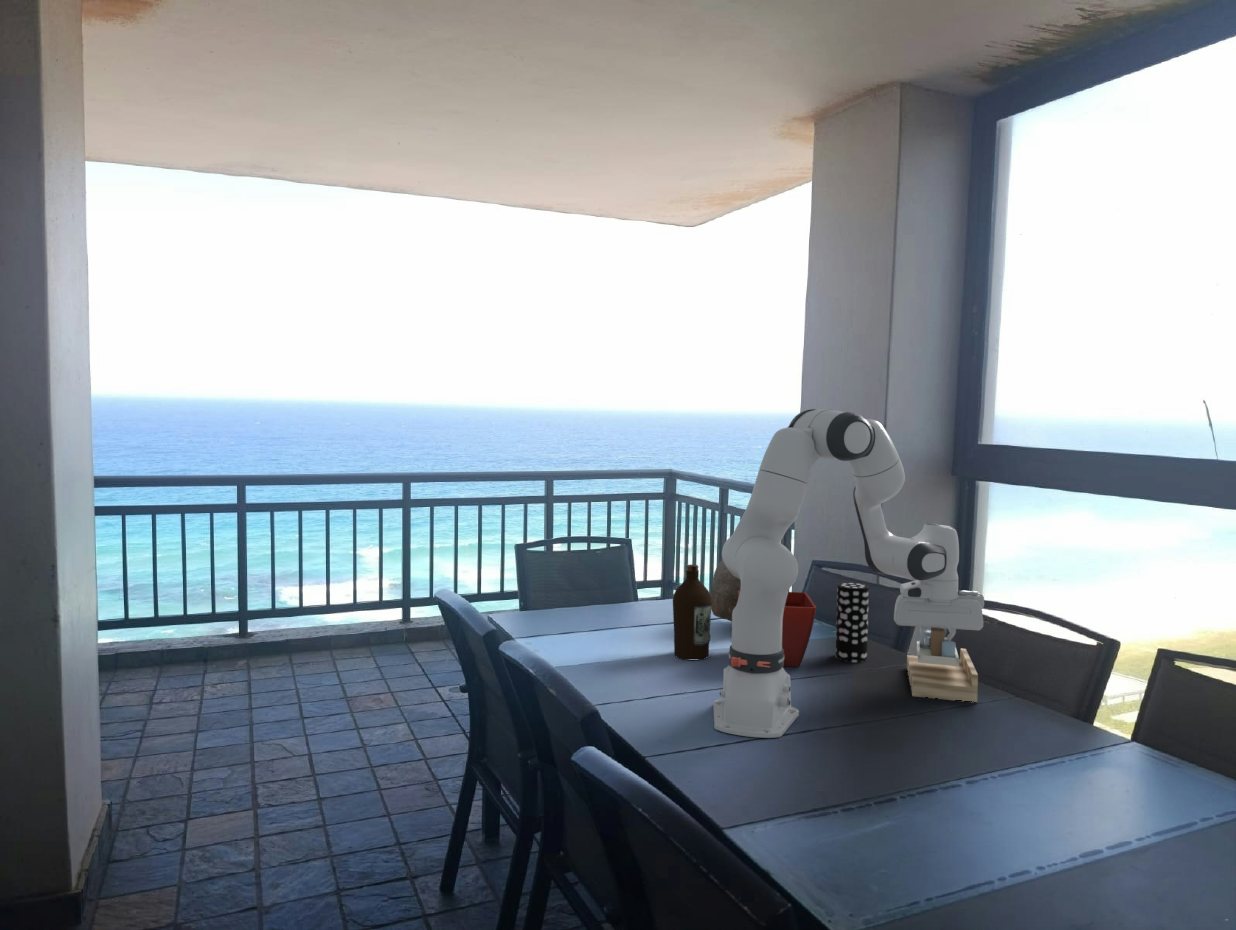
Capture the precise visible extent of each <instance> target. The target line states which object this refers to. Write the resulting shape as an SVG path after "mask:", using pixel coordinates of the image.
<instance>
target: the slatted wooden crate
mask: <svg viewBox="0 0 1236 930" xmlns="http://www.w3.org/2000/svg"><path fill="white" fill-rule="evenodd" d="M959 651H960V653H959V654H960V655H959V666H949V665H939V664H929V663H918V657H917V655H910V654H909V655H908V654H907V655H906V670H907V671H908V672H907V675H908V676H909V677H908V681H909V686H911V687H910V692H911V695H912V697H918V698H925V697H928V698H927V699H935V698H938V699H937V700H944V701H945V700H946V701H947V700H948V701H955V700H962V701H961V702H964V701H972V702H971V703H974V702H977V703H978V693H979V692H978V691H979V690H978V688H979V687H978V686H979V674H978V672H977V669H976V668H975V666H974V663H973V661H972V659H971V657H970V655H969V653H968V651H967V648H960V650H959ZM973 701H974V702H973Z"/></svg>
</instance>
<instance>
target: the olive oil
mask: <svg viewBox="0 0 1236 930" xmlns="http://www.w3.org/2000/svg"><path fill="white" fill-rule="evenodd" d="M699 572H700V571H699V565H698V564H687V565H686V572H685V575H686V576H685V577H686V578H685V579H684V581H683V582H682V583H681V584H680V585H679V586H678V587H677V588H676V589H675V591H674V593H673V597H672V615H673V616H672V618H673V620H672V621H673V645H674V646H673V647H674V648H673V649H674V650H673V652H674V654H675V655H674V654H673V655H674V657H676V656H677V657H679V658H678V659H680V658H681V660H684V659H702V660H705V659H704V658H706V657H707V658H708V657H710V656H709V655H710V653H709V651H710V642H711V634H710V633H711V631H710V630H711V618H712V617H711V615H712V609H711V606H712V600H711V592H710V591H709V590H708V588H707V587H706V586H705V585H704V584H703V583H702V582H701V580H700V579H699V577H700V576H699ZM677 657H676V658H677ZM707 658H706V659H707Z"/></svg>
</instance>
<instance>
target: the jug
mask: <svg viewBox="0 0 1236 930" xmlns="http://www.w3.org/2000/svg"><path fill="white" fill-rule="evenodd" d="M712 576H713V577H712V581H711V587H710V596H711V600H712V606H711V613H712V614H713V616H715V617H717V618H720V619H721V620H722V619H723V620H726V621H729V622H731V623H732V612H733V609H734V608H735V607H736V605H737V602H738V591H739V590H740V588H741V581H740V579H738V578H737V577H735V576H733V575H732V574H731V573H730V572H729V570H728V569H727V567H726V565H725V564H724V562H723V559H722V555H721V561H720V562H719V563H718V565H717V567H716V569H715V571H714V573H713V575H712Z"/></svg>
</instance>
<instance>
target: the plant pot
mask: <svg viewBox="0 0 1236 930" xmlns="http://www.w3.org/2000/svg"><path fill="white" fill-rule="evenodd" d="M739 593H740V590H739V591H738V598H739ZM816 610H817V606H816V605H815V603H814V602H813V600H812V599H811V597H810V596H809V594H808V593H807V592H803V591H801V592H799V591H798V592H797V591H789V592H788V595H787V599H786V603H785V607H784V613H783V626H782V648H783V649H784V666H783V667H800V666H801V664H802V662H803V660H804V657H805V654H806V652H807V648H808V645H809V642H810V639H811V634H812V630H813V626H814V622H815V617H816V612H817V611H816Z"/></svg>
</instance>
